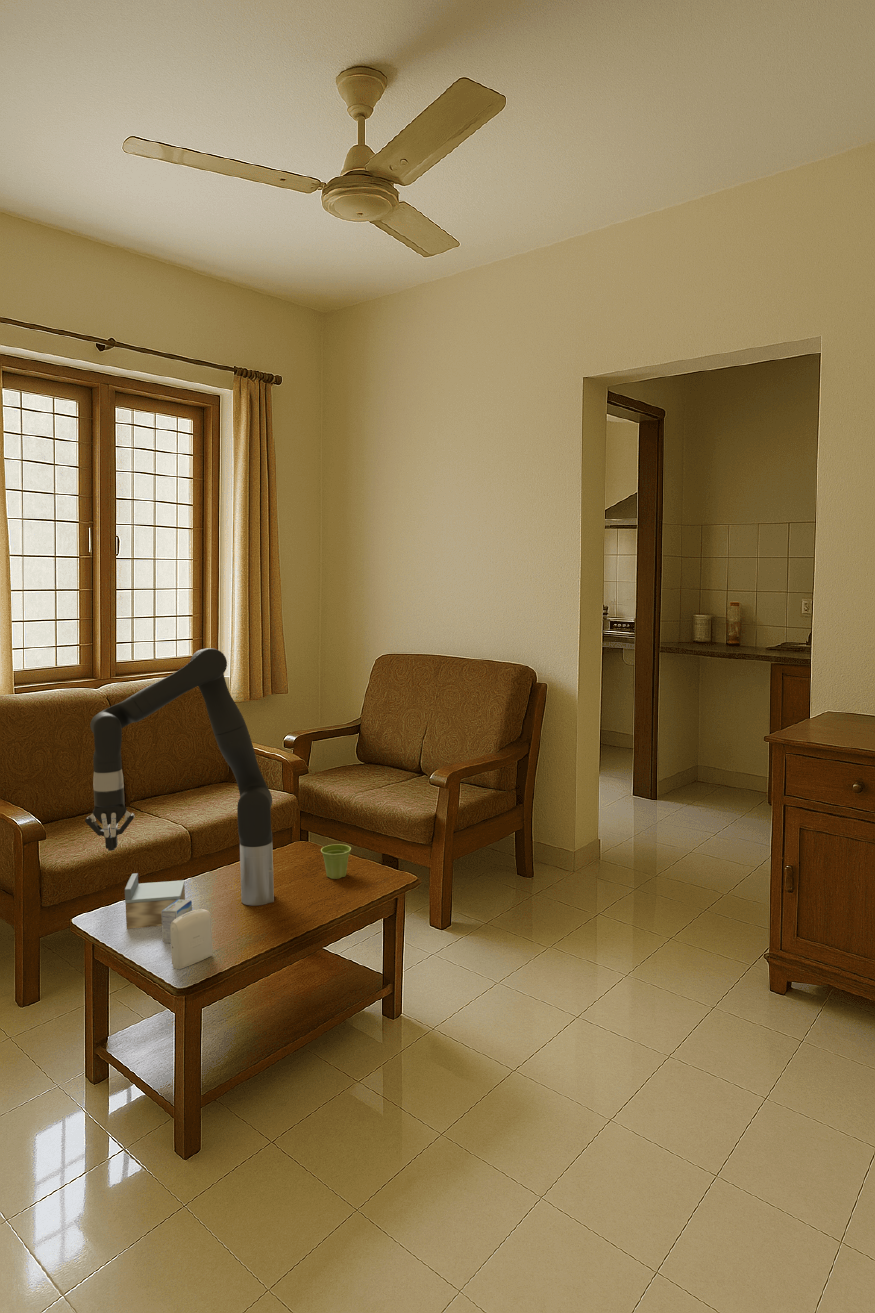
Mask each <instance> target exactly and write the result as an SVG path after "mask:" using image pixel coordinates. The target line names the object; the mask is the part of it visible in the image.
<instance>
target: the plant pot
mask: <svg viewBox="0 0 875 1313" xmlns="http://www.w3.org/2000/svg"><path fill="white" fill-rule="evenodd" d="M351 850H352V847H351V846H349V845H347V844H340V843H339V844H338V843H337V844H329V845H326V846H323V847H321V849H320V852H321V854H322V857H323V862H324V867H325V874H326V877H327V878H329V879H332V880H339V879H341V878H345V877H346V876H347V872H348V862H349V856H350V853H351Z"/></svg>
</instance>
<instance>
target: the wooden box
mask: <svg viewBox="0 0 875 1313" xmlns="http://www.w3.org/2000/svg"><path fill="white" fill-rule="evenodd" d="M185 887H186V886H185V884H184V887H183V891H182V894H181V898H180V899H181V900H186V894H185V893H186V890H185ZM176 900H179V899H173V900H160V901H148V902H135V903H125V921H126V923H125V924H126V925H125V926H126V930H130V929H141V928H142V929H143V928H153V927H162V914H161V911H162V910H164V909H165V908H166V907H168V906H169V905H171V904H172V903H173V902H175V901H176Z"/></svg>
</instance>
